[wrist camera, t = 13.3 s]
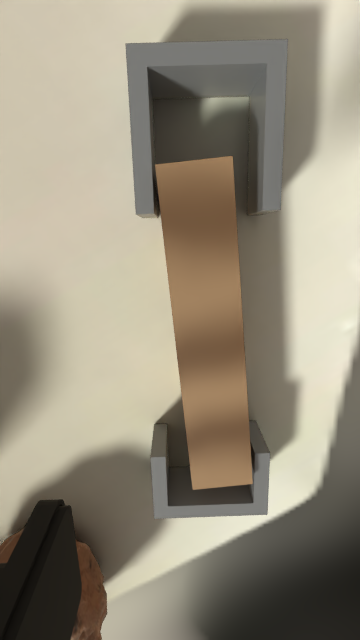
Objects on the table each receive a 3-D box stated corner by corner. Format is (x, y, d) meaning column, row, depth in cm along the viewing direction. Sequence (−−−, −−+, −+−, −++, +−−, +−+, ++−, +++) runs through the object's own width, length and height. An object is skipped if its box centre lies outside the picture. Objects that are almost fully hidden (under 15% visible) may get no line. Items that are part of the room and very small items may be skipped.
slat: (159, 180, 22) (155, 164, 17) (220, 173, 22) (232, 155, 17) (189, 443, 27) (192, 489, 22) (238, 438, 27) (252, 483, 22)
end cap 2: (154, 424, 26) (150, 457, 22) (255, 420, 26) (269, 453, 22) (157, 478, 27) (154, 518, 23) (254, 474, 27) (267, 514, 23)
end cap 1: (135, 80, 20) (125, 43, 16) (266, 77, 20) (287, 39, 16) (142, 218, 22) (135, 214, 18) (261, 214, 22) (280, 209, 18)
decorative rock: (52, 634, 31) (-3, 813, 22) (-48, 572, 29) (-158, 739, 19) (145, 554, 29) (131, 713, 19) (44, 480, 27) (-29, 617, 17)
